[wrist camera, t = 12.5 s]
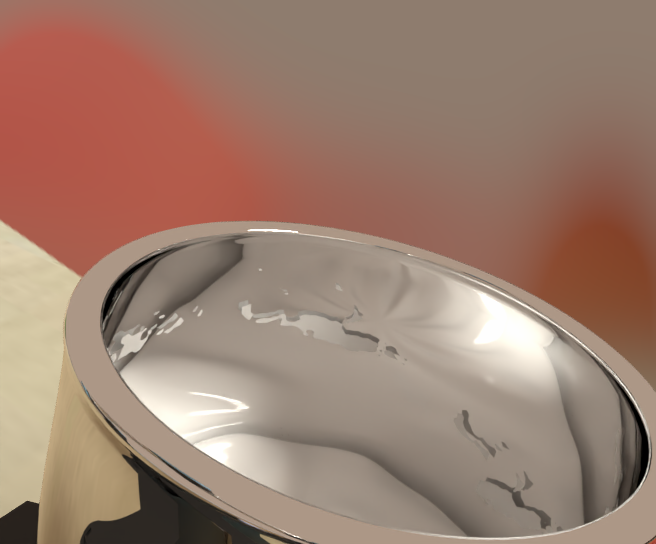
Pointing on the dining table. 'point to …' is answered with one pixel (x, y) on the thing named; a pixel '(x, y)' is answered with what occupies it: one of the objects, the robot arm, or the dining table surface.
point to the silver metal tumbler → (335, 401)
